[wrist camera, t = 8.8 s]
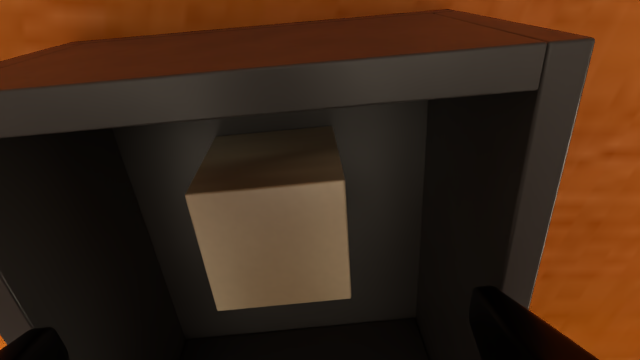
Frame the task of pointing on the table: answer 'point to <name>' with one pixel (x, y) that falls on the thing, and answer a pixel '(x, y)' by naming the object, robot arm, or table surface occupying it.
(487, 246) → the case
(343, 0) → the table surface
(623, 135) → the table surface
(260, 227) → the block
